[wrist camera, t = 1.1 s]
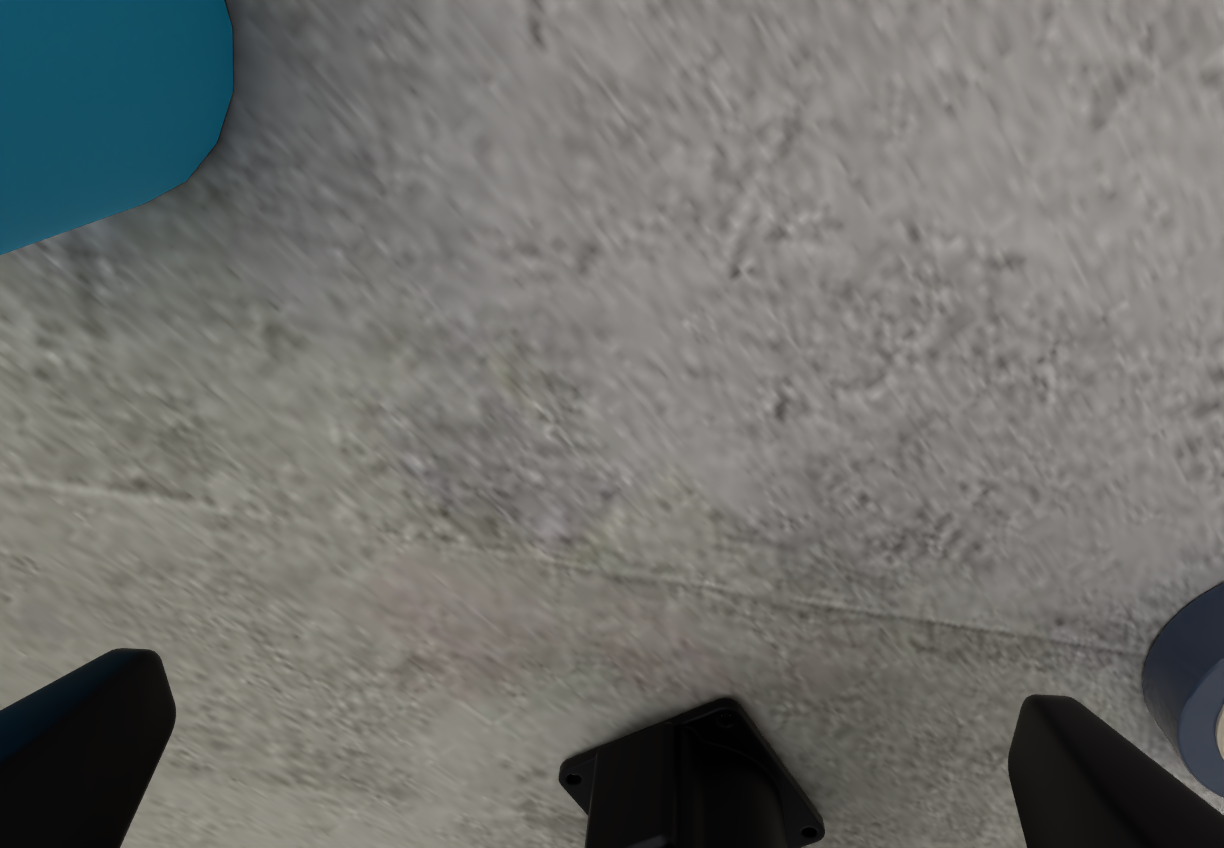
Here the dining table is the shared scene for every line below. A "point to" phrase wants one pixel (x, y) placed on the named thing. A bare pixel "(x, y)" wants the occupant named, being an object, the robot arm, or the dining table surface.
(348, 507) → the dining table surface
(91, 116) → the mug
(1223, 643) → the navy jar lid
